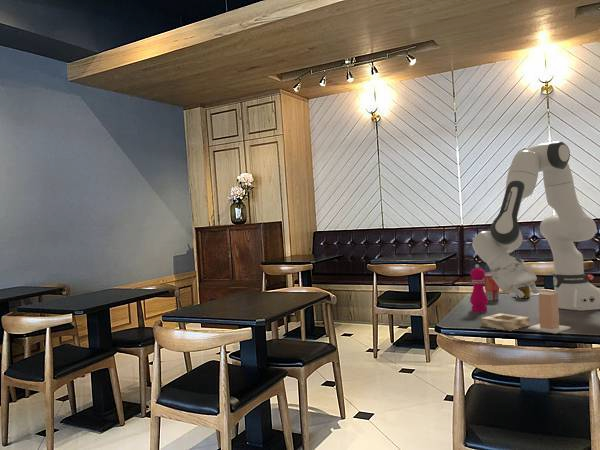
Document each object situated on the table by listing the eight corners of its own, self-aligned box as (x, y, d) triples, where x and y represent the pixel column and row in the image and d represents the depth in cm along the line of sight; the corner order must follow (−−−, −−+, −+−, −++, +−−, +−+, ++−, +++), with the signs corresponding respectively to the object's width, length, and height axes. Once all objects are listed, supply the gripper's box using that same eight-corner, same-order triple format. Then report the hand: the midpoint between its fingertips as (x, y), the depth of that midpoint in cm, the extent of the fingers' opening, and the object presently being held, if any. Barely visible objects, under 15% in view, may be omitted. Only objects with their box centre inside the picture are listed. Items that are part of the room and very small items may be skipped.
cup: (500, 297, 240) (499, 272, 240) (503, 300, 232) (502, 275, 231) (480, 297, 242) (479, 273, 242) (482, 301, 234) (481, 275, 233)
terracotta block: (546, 324, 179) (545, 292, 179) (559, 326, 175) (557, 293, 175) (540, 327, 176) (538, 293, 176) (552, 329, 173) (550, 295, 173)
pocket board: (500, 320, 192) (500, 313, 192) (529, 325, 182) (529, 317, 182) (481, 326, 185) (481, 318, 185) (510, 331, 175) (510, 322, 175)
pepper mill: (489, 312, 208) (487, 265, 208) (471, 312, 210) (469, 265, 210) (486, 308, 216) (484, 263, 215) (469, 309, 217) (467, 263, 217)
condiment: (533, 296, 238) (532, 271, 238) (526, 299, 232) (525, 273, 232) (518, 295, 243) (516, 271, 243) (510, 298, 237) (509, 273, 237)
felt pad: (543, 324, 183) (543, 322, 183) (570, 328, 175) (570, 326, 175) (528, 328, 177) (528, 327, 177) (555, 333, 169) (555, 331, 169)
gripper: (493, 264, 181) (519, 293, 174) (524, 258, 193) (550, 285, 185) (483, 275, 185) (508, 304, 177) (514, 269, 197) (539, 296, 189)
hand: (529, 294), depth 181 cm, fingers open, 8 cm apart
